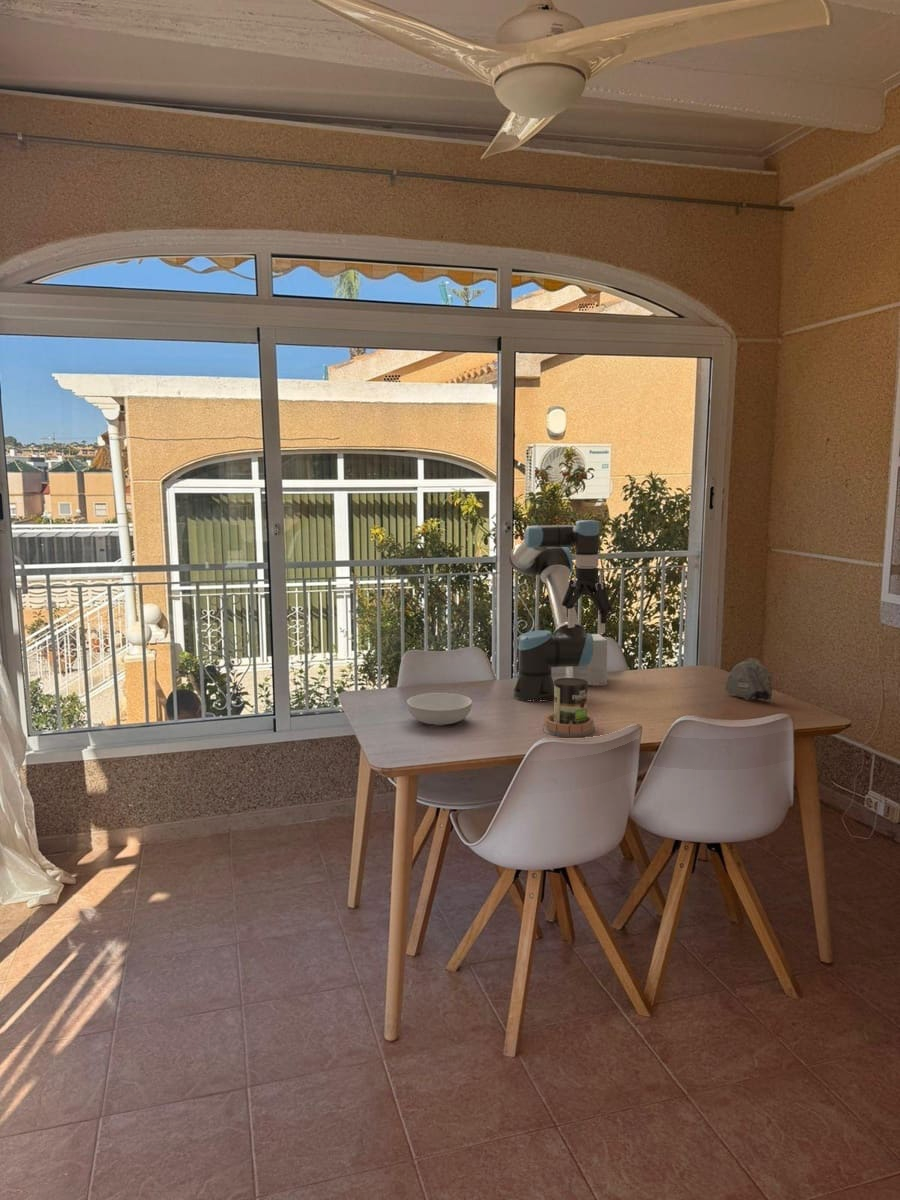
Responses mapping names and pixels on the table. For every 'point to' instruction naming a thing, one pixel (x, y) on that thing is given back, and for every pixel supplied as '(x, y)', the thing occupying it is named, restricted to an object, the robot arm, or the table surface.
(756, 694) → the decorative rock
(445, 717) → the serving bowl
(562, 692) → the coffee can
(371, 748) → the table surface
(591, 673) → the supplement box
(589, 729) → the collar
